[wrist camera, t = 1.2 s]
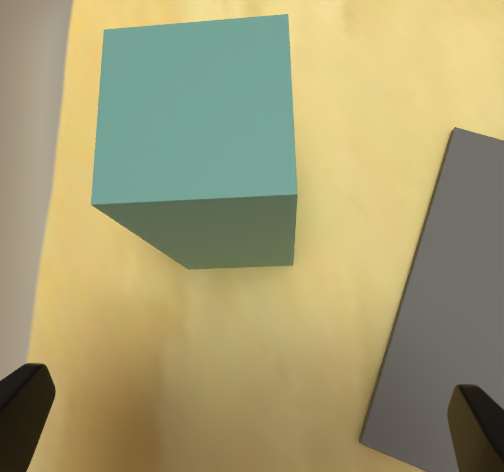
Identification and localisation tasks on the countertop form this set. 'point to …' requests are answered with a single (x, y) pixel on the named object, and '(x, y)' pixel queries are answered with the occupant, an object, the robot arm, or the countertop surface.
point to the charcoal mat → (446, 311)
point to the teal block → (200, 140)
